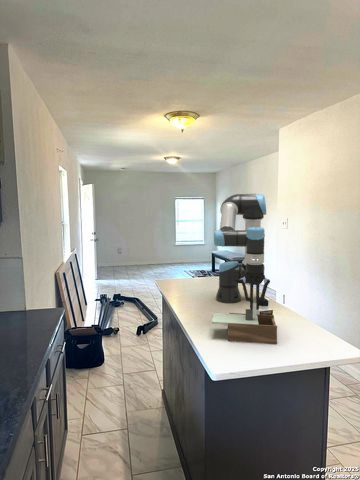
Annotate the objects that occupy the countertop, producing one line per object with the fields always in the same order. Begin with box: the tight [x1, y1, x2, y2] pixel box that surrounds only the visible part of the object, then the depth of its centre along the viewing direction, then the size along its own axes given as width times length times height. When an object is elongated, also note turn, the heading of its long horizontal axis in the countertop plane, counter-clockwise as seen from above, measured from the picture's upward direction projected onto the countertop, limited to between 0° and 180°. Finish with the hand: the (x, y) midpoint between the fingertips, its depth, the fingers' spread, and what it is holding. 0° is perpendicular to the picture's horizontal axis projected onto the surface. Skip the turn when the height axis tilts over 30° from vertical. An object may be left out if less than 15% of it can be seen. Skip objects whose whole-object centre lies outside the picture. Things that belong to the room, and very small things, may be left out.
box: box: [227, 312, 278, 345], centre depth 141 cm, size 14×20×8 cm
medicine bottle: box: [256, 296, 274, 315], centre depth 158 cm, size 7×7×12 cm
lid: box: [211, 308, 259, 326], centre depth 142 cm, size 12×20×5 cm, turn 79°
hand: (254, 316), depth 140 cm, fingers closed
